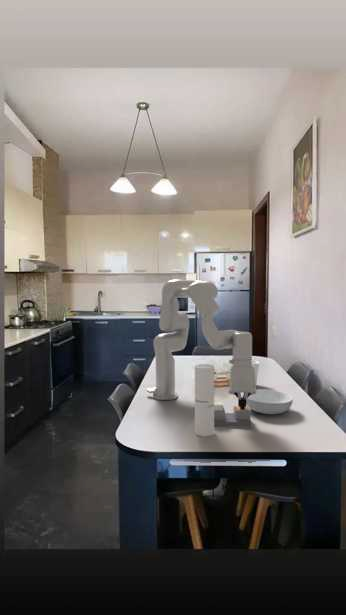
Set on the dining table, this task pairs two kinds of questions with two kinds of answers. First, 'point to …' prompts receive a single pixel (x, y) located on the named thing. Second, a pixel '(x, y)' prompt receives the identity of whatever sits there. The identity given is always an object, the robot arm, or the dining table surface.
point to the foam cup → (256, 367)
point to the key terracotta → (241, 409)
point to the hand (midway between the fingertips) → (242, 408)
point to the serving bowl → (269, 401)
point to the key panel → (232, 418)
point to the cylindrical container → (204, 399)
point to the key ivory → (218, 406)
